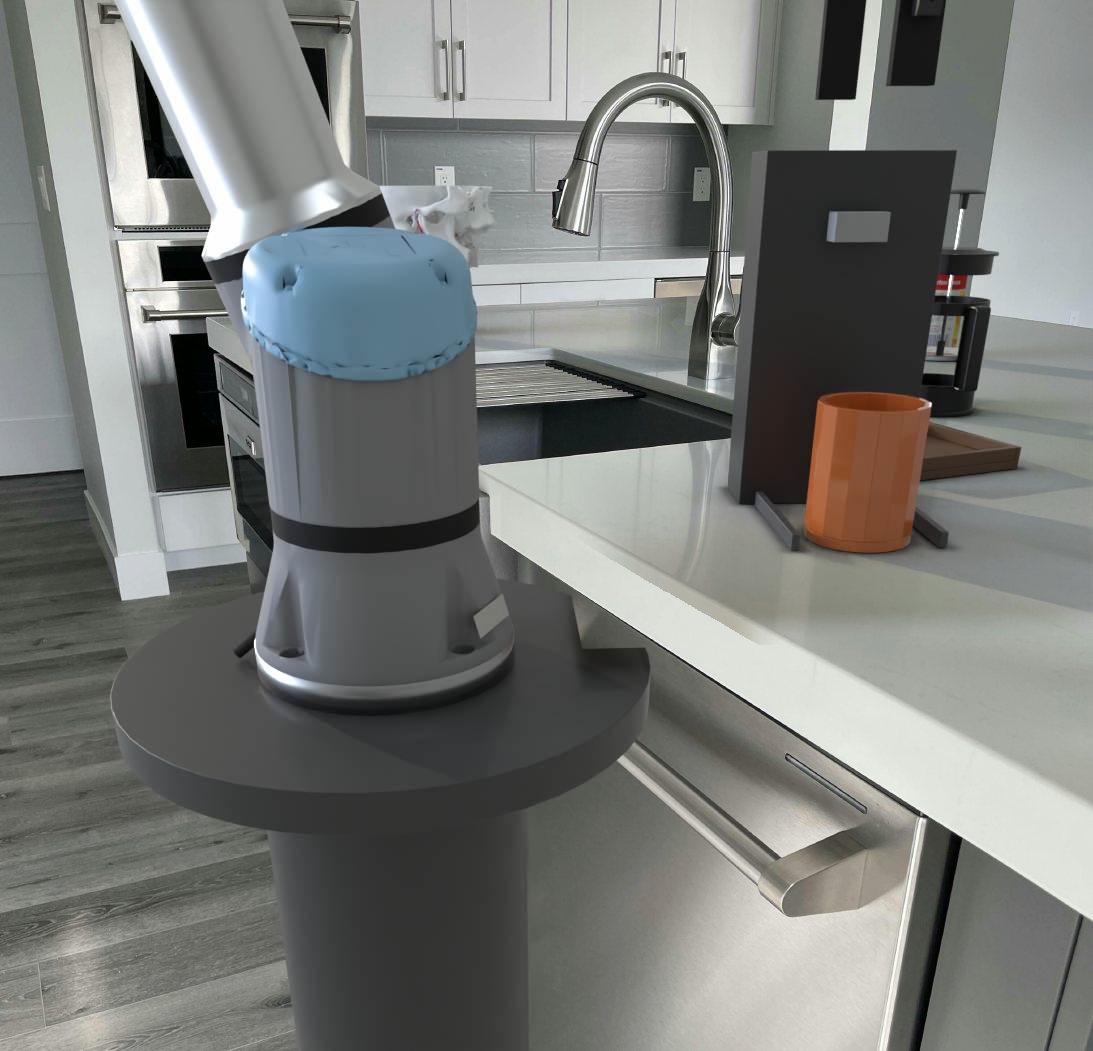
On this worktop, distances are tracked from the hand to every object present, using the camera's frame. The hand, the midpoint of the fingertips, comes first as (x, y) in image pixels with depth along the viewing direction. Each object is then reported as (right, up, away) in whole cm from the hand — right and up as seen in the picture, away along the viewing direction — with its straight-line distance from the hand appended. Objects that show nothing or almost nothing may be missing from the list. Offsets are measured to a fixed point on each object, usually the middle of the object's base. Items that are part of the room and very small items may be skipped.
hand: (869, 94), depth 70 cm
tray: (+14, -16, +33) cm, 39 cm away
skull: (-42, +27, +116) cm, 126 cm away
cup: (+2, -27, +11) cm, 29 cm away
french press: (+24, -5, +55) cm, 60 cm away
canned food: (+36, +14, +91) cm, 99 cm away
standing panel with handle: (+2, -24, +16) cm, 29 cm away
